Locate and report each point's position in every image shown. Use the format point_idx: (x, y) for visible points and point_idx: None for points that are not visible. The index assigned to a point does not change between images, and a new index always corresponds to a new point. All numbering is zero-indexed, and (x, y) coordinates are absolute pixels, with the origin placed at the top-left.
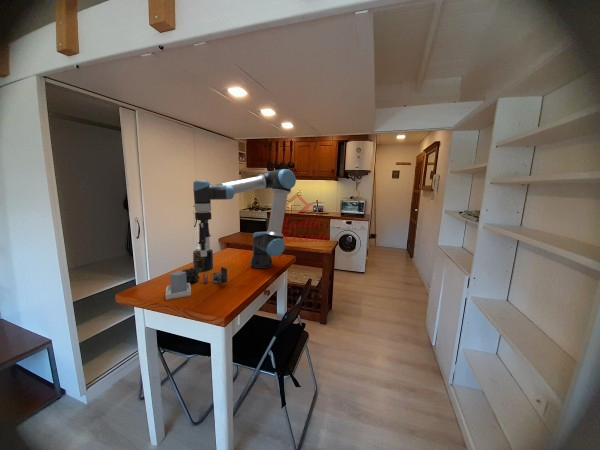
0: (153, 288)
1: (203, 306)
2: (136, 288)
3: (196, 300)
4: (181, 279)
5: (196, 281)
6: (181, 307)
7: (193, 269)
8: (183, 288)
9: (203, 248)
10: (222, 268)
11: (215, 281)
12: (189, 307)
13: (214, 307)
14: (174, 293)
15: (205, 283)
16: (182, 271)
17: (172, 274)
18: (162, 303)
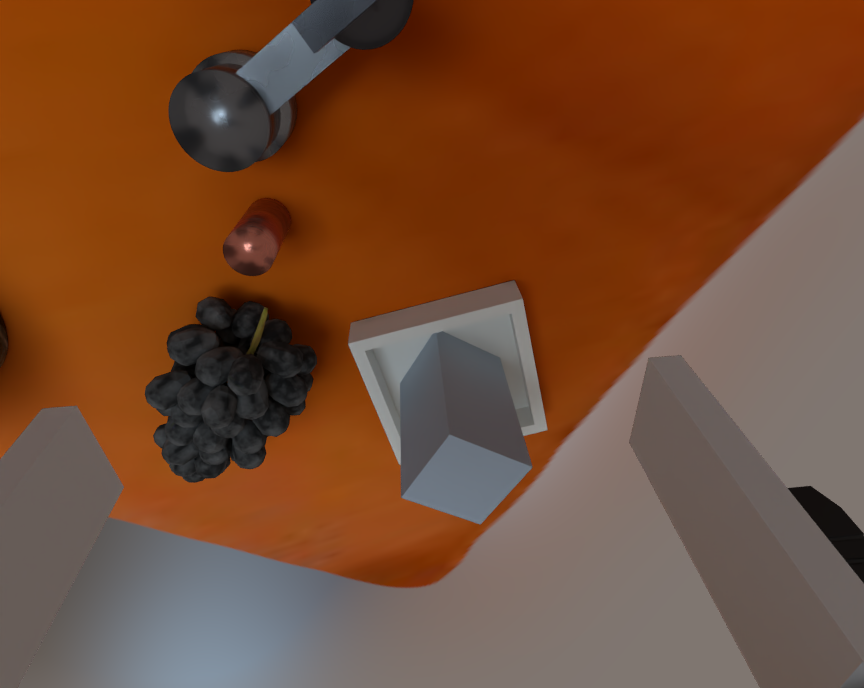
0: (353, 509)
1: (734, 147)
2: (347, 570)
3: (608, 222)
4: (494, 420)
5: (260, 304)
6: (679, 295)
7: (214, 394)
8: (468, 360)
9: (848, 547)
10: (356, 19)
11: (291, 119)
12: (703, 245)
13: (797, 45)
14: (538, 390)
15: (288, 219)
16: (223, 461)
17: (491, 508)
18: (580, 408)
